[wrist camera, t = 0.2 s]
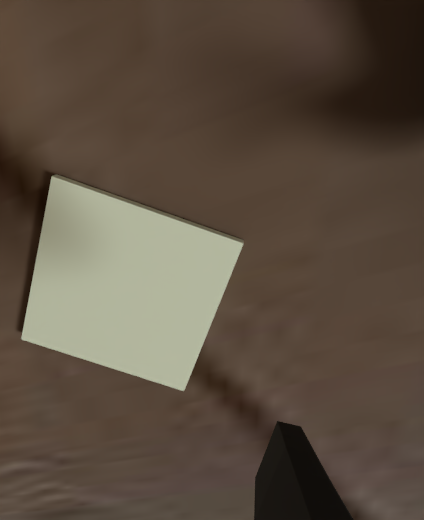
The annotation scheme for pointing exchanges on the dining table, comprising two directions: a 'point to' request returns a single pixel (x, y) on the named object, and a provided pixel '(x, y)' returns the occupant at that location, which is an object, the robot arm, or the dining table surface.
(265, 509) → the robot arm
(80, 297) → the mat
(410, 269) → the dining table surface
